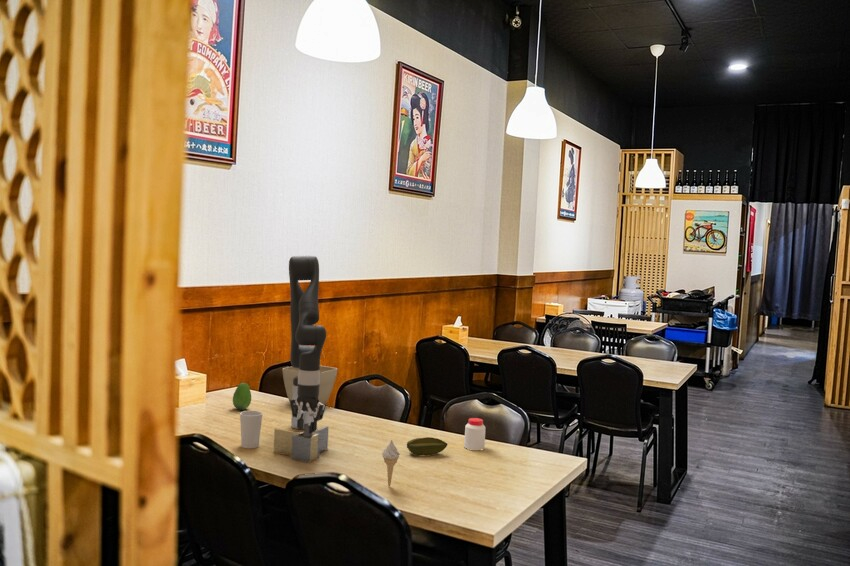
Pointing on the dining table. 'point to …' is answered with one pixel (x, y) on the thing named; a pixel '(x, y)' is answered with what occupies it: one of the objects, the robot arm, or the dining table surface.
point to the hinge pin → (307, 430)
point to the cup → (250, 428)
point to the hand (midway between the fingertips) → (306, 430)
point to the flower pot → (325, 381)
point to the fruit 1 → (242, 396)
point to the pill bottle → (475, 434)
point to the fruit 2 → (426, 446)
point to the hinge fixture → (301, 444)
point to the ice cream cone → (390, 459)
